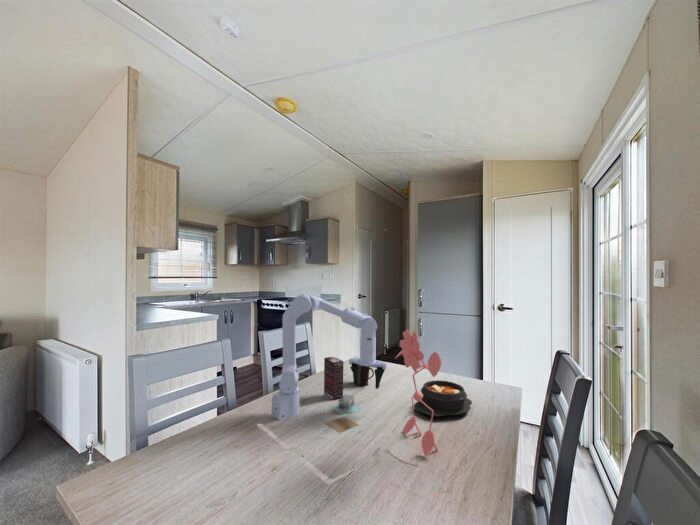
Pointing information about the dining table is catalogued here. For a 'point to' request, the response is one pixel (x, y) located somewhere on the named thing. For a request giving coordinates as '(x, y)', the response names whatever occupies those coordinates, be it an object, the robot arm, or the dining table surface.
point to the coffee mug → (363, 376)
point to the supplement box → (333, 378)
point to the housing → (346, 403)
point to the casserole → (443, 399)
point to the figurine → (413, 357)
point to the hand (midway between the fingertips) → (367, 386)
